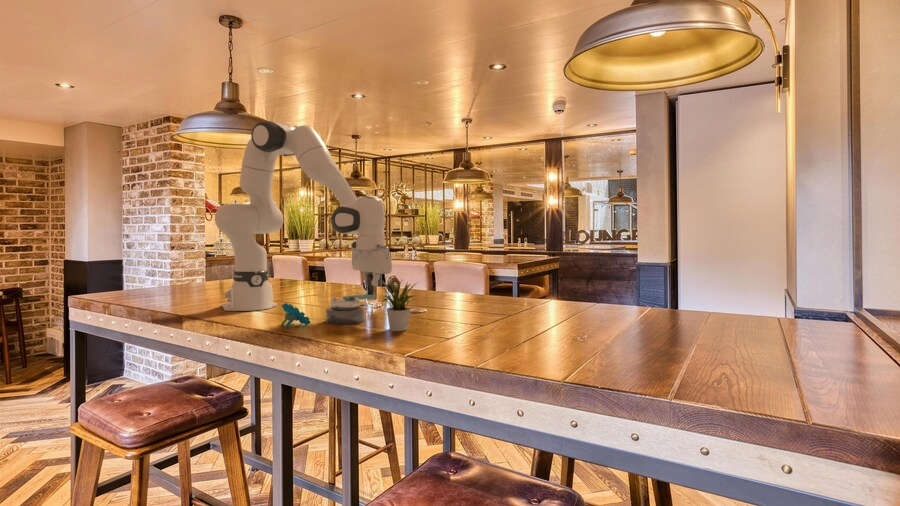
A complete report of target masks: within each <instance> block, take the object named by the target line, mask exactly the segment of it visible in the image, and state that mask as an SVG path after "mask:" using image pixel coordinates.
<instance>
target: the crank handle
mask: <svg viewBox="0 0 900 506" xmlns="http://www.w3.org/2000/svg"><path fill="white" fill-rule="evenodd" d="M373 277H374V276H373V272H370V273H368V274H367V285H366V293H365V294H355V295H345V296H342V298H337V297H335V296H333V297H331V298H330V308H331V309H333V310H354V309H358V308H359V306H360V300H365V299H367V300H369V299H375V298H376V293H375V286H372V285H371V284H372V283H371V281H373Z"/></svg>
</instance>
